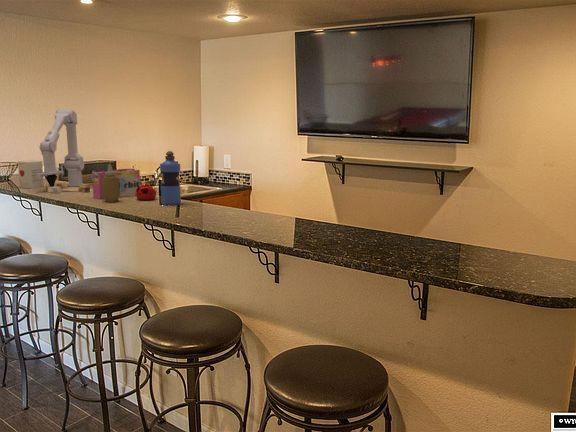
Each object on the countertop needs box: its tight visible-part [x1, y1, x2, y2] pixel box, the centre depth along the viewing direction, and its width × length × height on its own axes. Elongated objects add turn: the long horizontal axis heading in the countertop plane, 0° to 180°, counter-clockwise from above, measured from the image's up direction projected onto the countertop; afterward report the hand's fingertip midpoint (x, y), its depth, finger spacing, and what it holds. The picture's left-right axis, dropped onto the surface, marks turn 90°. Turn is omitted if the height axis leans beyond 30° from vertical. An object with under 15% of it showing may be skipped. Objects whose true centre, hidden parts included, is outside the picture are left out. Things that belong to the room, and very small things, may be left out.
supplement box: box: [17, 159, 45, 190], centre depth 275 cm, size 9×9×15 cm
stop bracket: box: [51, 188, 61, 195], centre depth 257 cm, size 2×4×3 cm, turn 59°
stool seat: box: [56, 182, 93, 194], centre depth 269 cm, size 20×20×3 cm
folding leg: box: [45, 185, 62, 193], centre depth 262 cm, size 8×3×3 cm, turn 96°
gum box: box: [91, 168, 141, 200], centre depth 252 cm, size 24×8×14 cm, turn 137°
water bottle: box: [159, 150, 182, 206], centre depth 232 cm, size 9×9×25 cm
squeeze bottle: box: [102, 163, 120, 203], centre depth 235 cm, size 8×8×18 cm
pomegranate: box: [135, 181, 157, 201], centre depth 244 cm, size 10×10×9 cm
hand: (51, 188), depth 264 cm, fingers closed, pressing on folding leg
